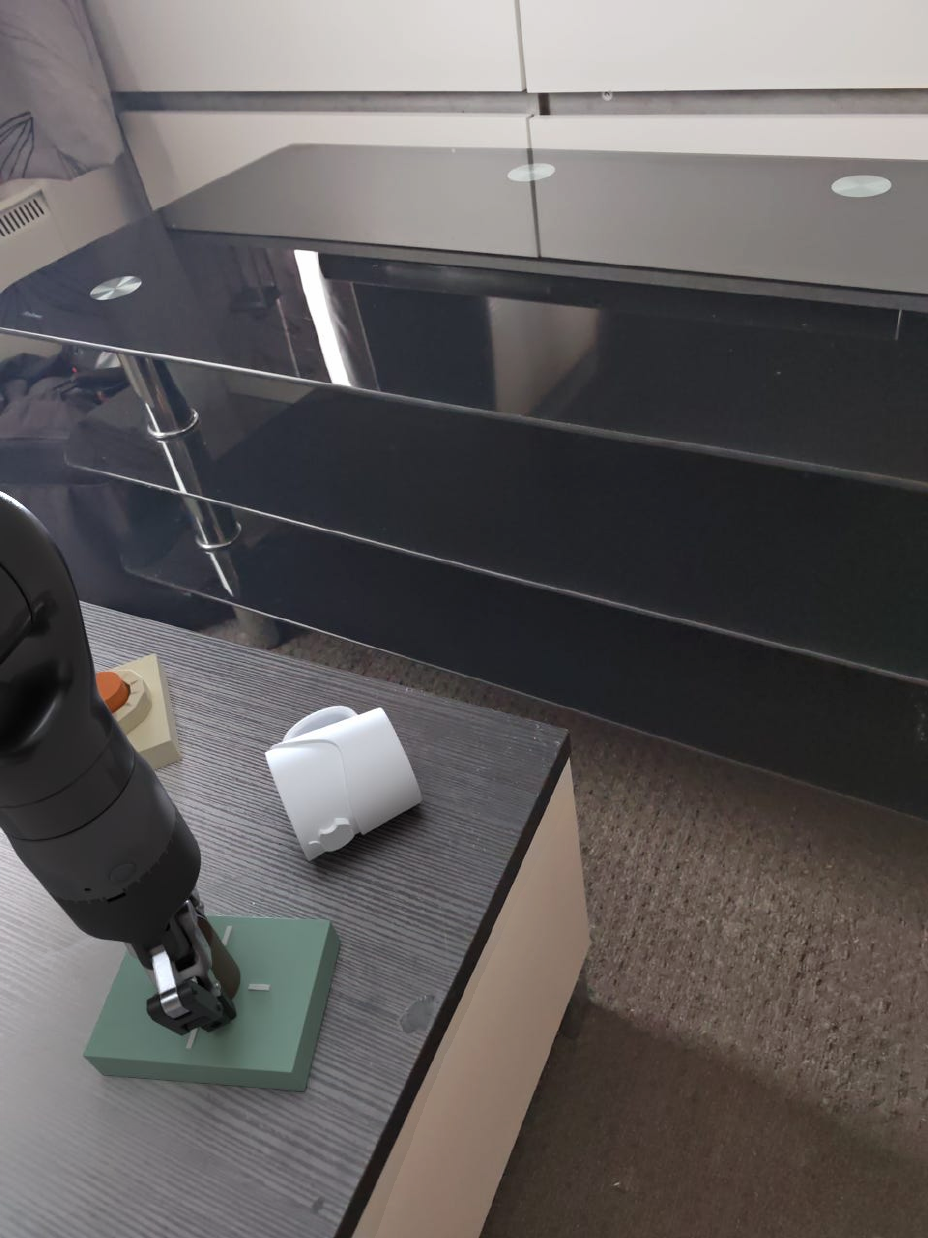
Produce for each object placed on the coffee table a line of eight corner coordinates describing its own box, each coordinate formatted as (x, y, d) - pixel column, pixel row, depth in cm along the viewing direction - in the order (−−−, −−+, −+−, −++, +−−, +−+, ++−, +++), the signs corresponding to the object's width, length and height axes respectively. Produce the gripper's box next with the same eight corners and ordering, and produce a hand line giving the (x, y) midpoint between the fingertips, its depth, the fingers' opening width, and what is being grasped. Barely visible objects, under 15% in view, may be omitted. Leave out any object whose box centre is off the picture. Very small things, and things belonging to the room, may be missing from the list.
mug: (433, 829, 70) (413, 763, 64) (318, 883, 68) (288, 820, 63) (379, 727, 78) (358, 661, 73) (276, 772, 76) (246, 708, 71)
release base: (182, 760, 79) (162, 725, 76) (78, 799, 78) (54, 766, 75) (166, 672, 88) (148, 638, 85) (72, 706, 86) (51, 673, 83)
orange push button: (130, 708, 79) (122, 694, 78) (84, 725, 78) (75, 711, 77) (127, 678, 82) (119, 665, 81) (82, 694, 81) (73, 681, 80)
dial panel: (101, 1075, 60) (80, 1055, 58) (158, 932, 67) (141, 910, 65) (304, 1092, 57) (290, 1071, 55) (341, 941, 64) (330, 918, 62)
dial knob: (247, 995, 59) (218, 951, 55) (188, 1027, 58) (153, 984, 54) (231, 945, 62) (202, 900, 58) (174, 974, 61) (140, 930, 57)
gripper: (29, 768, 53) (144, 921, 64) (37, 981, 43) (173, 1118, 54) (156, 718, 54) (247, 876, 66) (194, 913, 44) (294, 1061, 55)
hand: (213, 985), depth 60 cm, fingers open, 4 cm apart
